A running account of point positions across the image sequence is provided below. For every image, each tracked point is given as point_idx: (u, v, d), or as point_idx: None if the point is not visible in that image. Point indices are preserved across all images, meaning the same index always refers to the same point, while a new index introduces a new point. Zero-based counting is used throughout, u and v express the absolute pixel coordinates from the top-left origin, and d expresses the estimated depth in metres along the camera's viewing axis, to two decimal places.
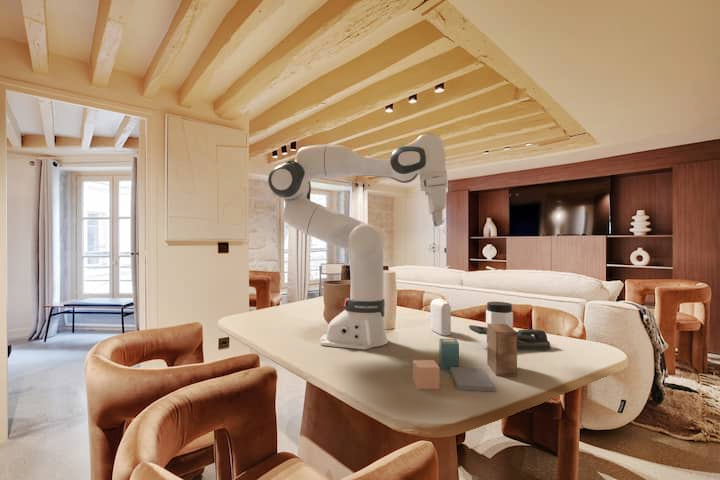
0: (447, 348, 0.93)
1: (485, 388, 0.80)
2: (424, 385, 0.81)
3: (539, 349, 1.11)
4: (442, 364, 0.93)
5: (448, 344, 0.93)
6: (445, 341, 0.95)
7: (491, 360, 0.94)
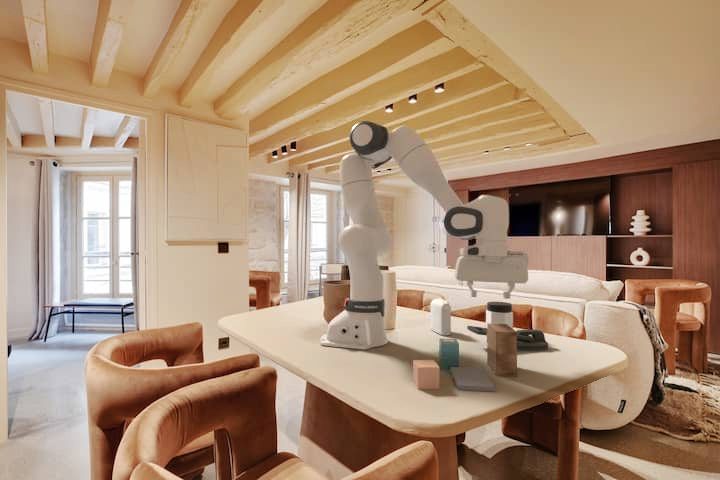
0: (447, 348, 0.93)
1: (485, 388, 0.80)
2: (424, 385, 0.81)
3: (537, 349, 1.10)
4: (442, 364, 0.93)
5: (448, 344, 0.93)
6: (445, 341, 0.95)
7: (491, 360, 0.94)
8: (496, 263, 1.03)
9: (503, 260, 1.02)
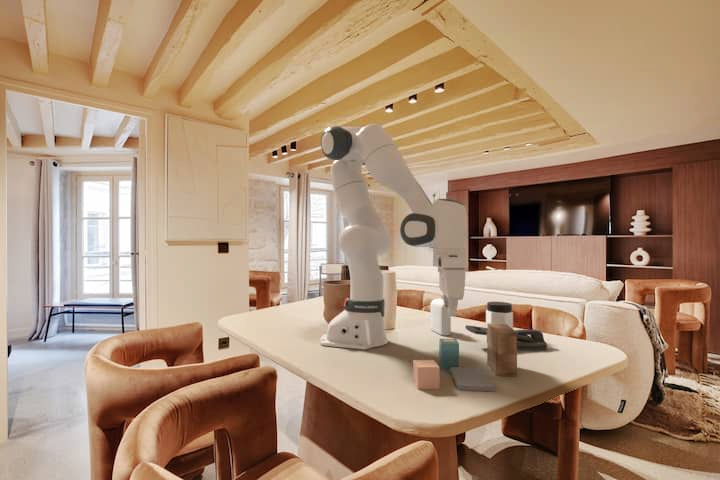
0: (447, 348, 0.93)
1: (485, 388, 0.80)
2: (424, 385, 0.81)
3: (535, 349, 1.11)
4: (442, 364, 0.93)
5: (448, 344, 0.93)
6: (445, 341, 0.95)
7: (491, 360, 0.94)
8: None
9: None
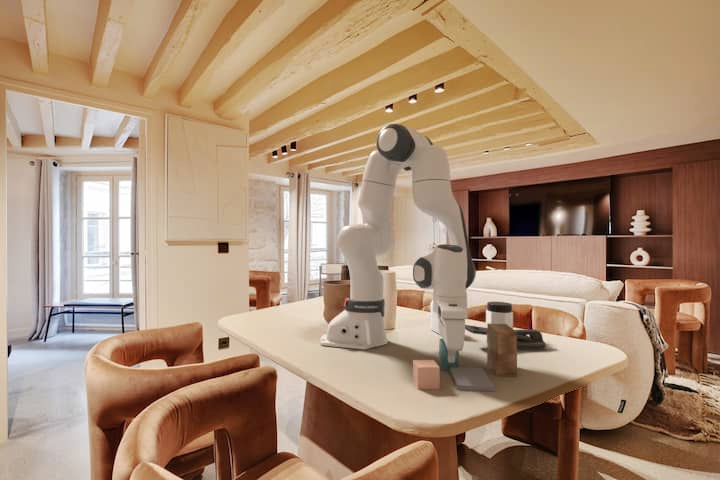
0: (447, 349, 0.93)
1: (485, 388, 0.80)
2: (424, 385, 0.81)
3: (534, 349, 1.11)
4: (442, 364, 0.93)
5: None
6: None
7: (491, 360, 0.94)
8: None
9: None
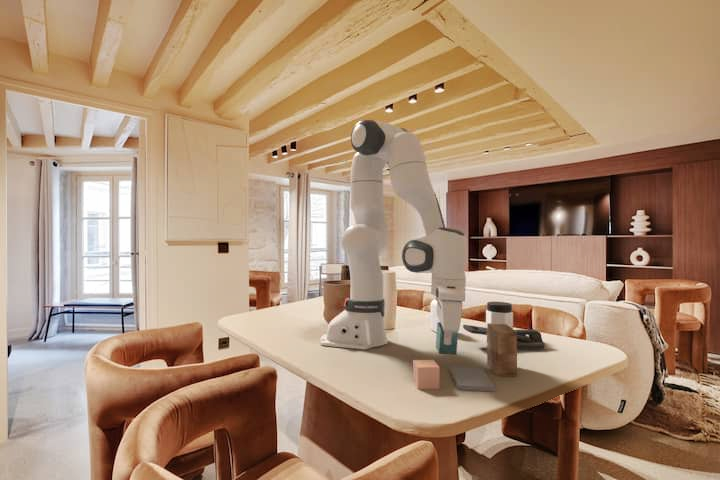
0: None
1: (485, 388, 0.80)
2: (424, 385, 0.81)
3: (533, 349, 1.11)
4: (440, 348, 0.93)
5: None
6: None
7: (491, 360, 0.94)
8: None
9: None
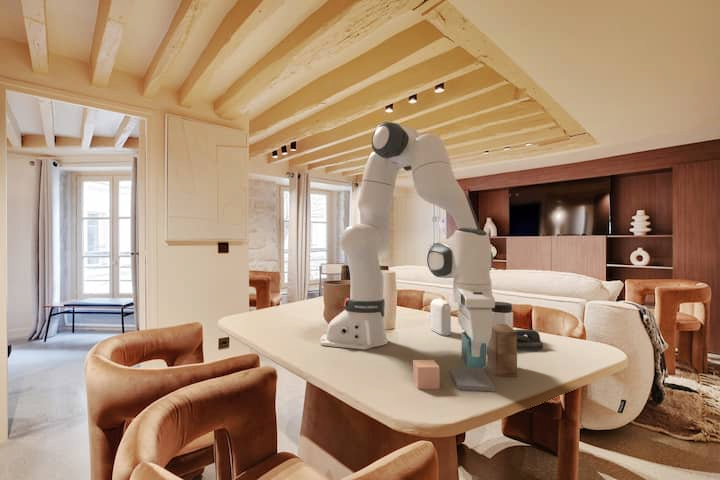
0: None
1: (485, 388, 0.80)
2: (424, 385, 0.81)
3: (531, 349, 1.11)
4: (468, 361, 0.84)
5: None
6: None
7: (491, 360, 0.94)
8: None
9: None
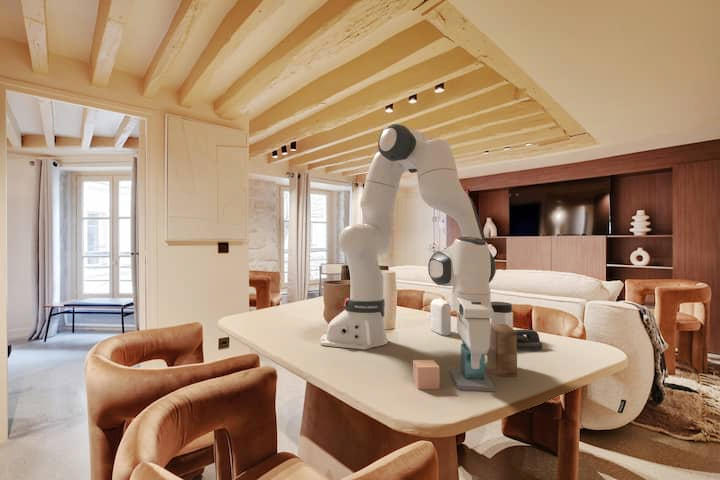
0: None
1: (485, 388, 0.80)
2: (424, 385, 0.81)
3: (531, 349, 1.10)
4: (466, 373, 0.84)
5: None
6: None
7: (491, 360, 0.94)
8: None
9: None
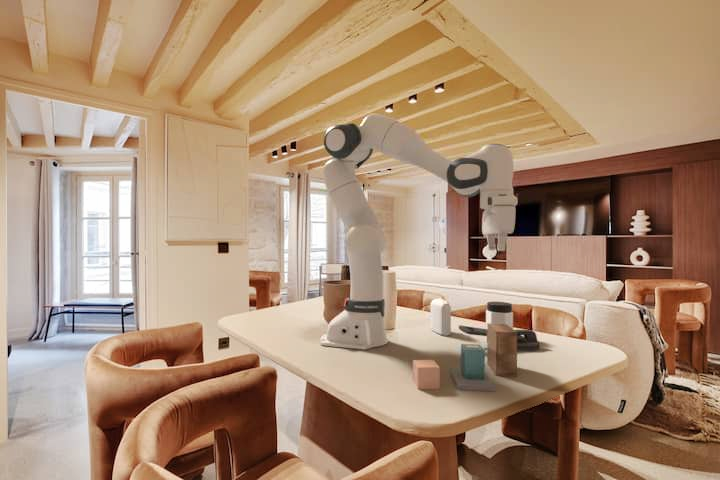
0: (471, 355, 0.84)
1: (485, 388, 0.80)
2: (424, 385, 0.81)
3: (528, 349, 1.10)
4: (466, 373, 0.84)
5: (473, 350, 0.84)
6: (469, 347, 0.86)
7: (491, 360, 0.94)
8: None
9: None
